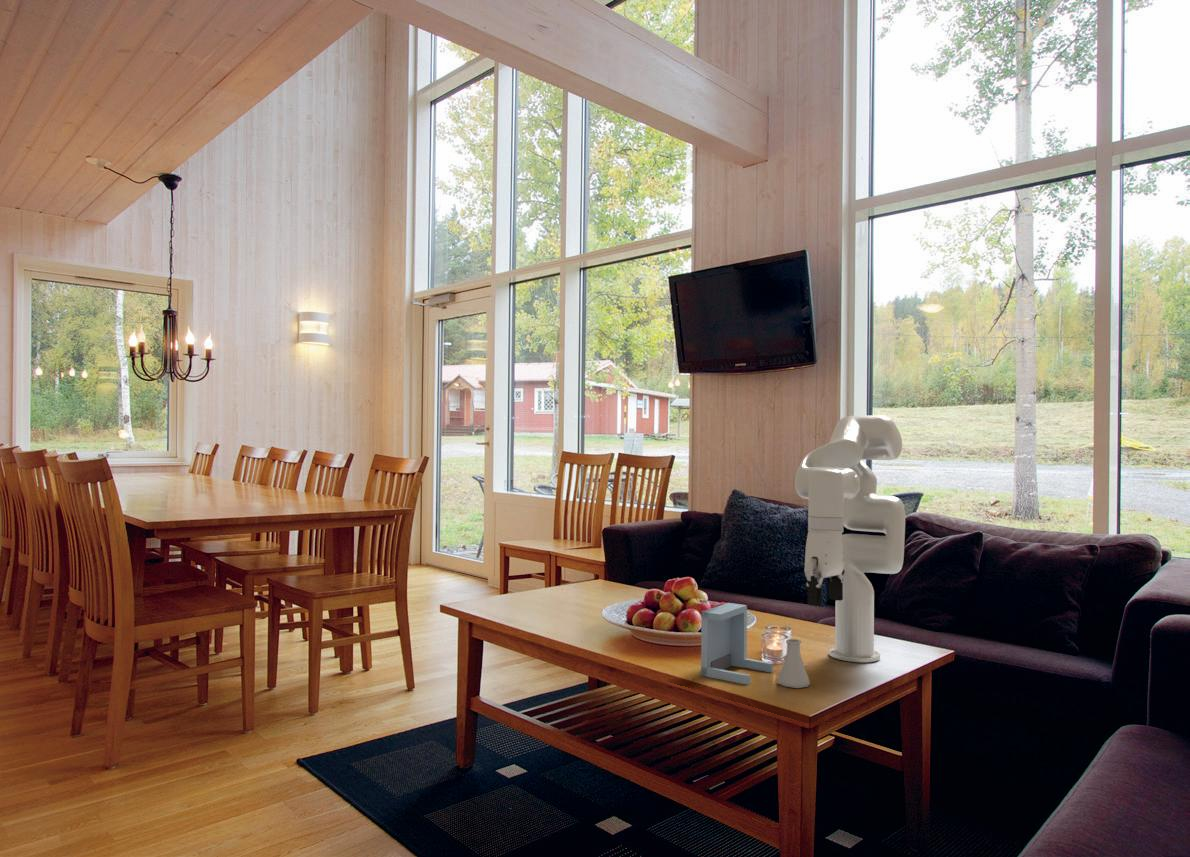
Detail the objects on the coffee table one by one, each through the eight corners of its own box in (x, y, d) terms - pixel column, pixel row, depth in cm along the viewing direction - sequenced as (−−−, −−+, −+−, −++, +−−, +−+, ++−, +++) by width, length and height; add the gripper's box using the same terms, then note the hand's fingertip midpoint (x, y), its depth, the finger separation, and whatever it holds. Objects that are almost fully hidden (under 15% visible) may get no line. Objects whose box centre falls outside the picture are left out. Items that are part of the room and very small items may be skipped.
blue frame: (728, 663, 203) (728, 602, 203) (773, 671, 196) (773, 608, 196) (701, 675, 191) (701, 611, 192) (747, 684, 184) (748, 618, 185)
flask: (815, 684, 185) (816, 640, 186) (798, 691, 180) (799, 645, 180) (788, 678, 190) (788, 635, 191) (770, 684, 185) (771, 640, 186)
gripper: (828, 521, 189) (827, 595, 188) (791, 526, 176) (790, 605, 176) (858, 523, 184) (858, 599, 183) (823, 528, 171) (822, 610, 170)
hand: (825, 602), depth 179 cm, fingers open, 9 cm apart
